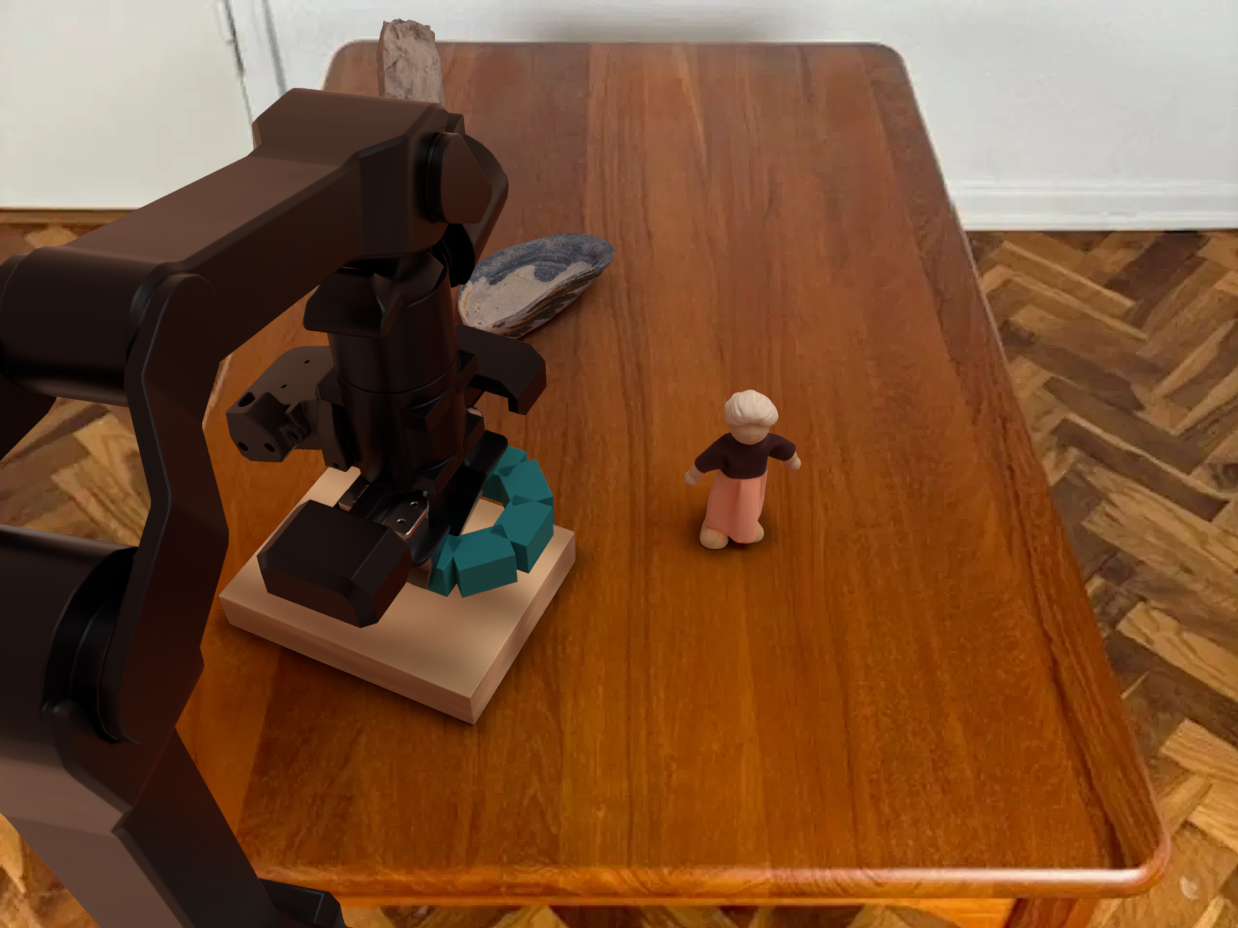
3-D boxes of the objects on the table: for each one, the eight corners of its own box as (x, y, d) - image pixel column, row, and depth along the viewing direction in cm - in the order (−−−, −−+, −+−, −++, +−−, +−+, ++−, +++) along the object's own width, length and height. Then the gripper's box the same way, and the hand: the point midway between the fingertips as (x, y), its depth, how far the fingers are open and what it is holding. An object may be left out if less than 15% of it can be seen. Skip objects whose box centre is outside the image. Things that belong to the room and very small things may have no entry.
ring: (501, 618, 64) (498, 590, 63) (346, 560, 67) (339, 532, 65) (578, 495, 71) (577, 467, 69) (434, 447, 73) (430, 419, 72)
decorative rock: (382, 136, 117) (358, -13, 106) (450, 131, 118) (433, -18, 107) (383, 233, 106) (356, 77, 95) (458, 227, 107) (440, 72, 96)
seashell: (617, 378, 93) (617, 328, 89) (456, 379, 93) (449, 330, 89) (614, 259, 104) (614, 210, 100) (469, 260, 103) (464, 211, 100)
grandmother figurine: (698, 566, 80) (709, 432, 71) (675, 526, 82) (683, 391, 73) (800, 535, 82) (824, 400, 73) (775, 496, 84) (795, 361, 75)
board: (474, 725, 72) (470, 698, 69) (228, 624, 77) (217, 595, 75) (576, 560, 80) (575, 531, 78) (349, 479, 86) (343, 449, 83)
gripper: (355, 206, 63) (394, 419, 74) (119, 432, 51) (208, 645, 62) (545, 257, 60) (555, 472, 71) (341, 510, 48) (392, 720, 59)
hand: (432, 567), depth 66 cm, fingers closed on ring, 2 cm apart
